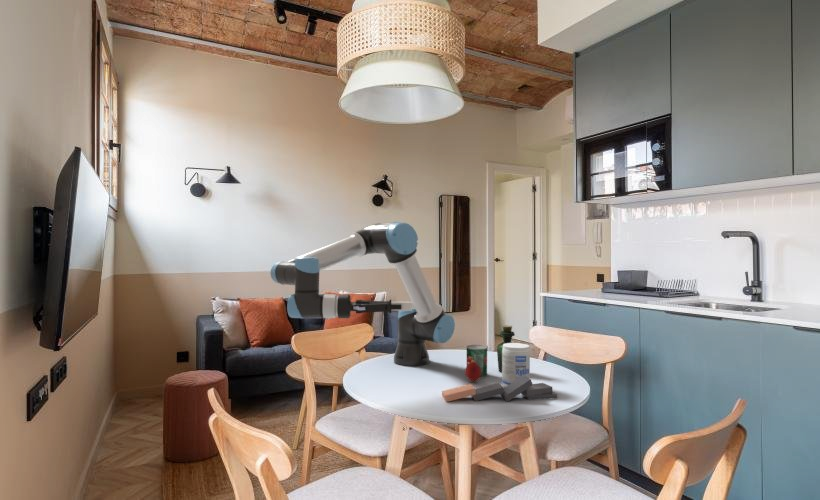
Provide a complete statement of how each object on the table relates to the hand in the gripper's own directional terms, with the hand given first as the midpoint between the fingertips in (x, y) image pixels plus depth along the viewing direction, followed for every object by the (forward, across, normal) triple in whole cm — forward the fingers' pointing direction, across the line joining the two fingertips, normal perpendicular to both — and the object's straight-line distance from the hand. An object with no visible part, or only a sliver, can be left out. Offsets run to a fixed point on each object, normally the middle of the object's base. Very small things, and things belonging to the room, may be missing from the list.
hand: (411, 306), depth 149 cm
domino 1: (+20, -1, -29) cm, 35 cm away
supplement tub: (+37, -13, -30) cm, 50 cm away
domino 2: (+30, 0, -29) cm, 42 cm away
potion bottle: (+39, -33, -30) cm, 60 cm away
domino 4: (+37, -1, -30) cm, 48 cm away
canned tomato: (+26, -28, -30) cm, 49 cm away
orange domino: (+10, 0, -29) cm, 31 cm away
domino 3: (+36, -1, -28) cm, 46 cm away
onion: (+23, -19, -30) cm, 43 cm away
